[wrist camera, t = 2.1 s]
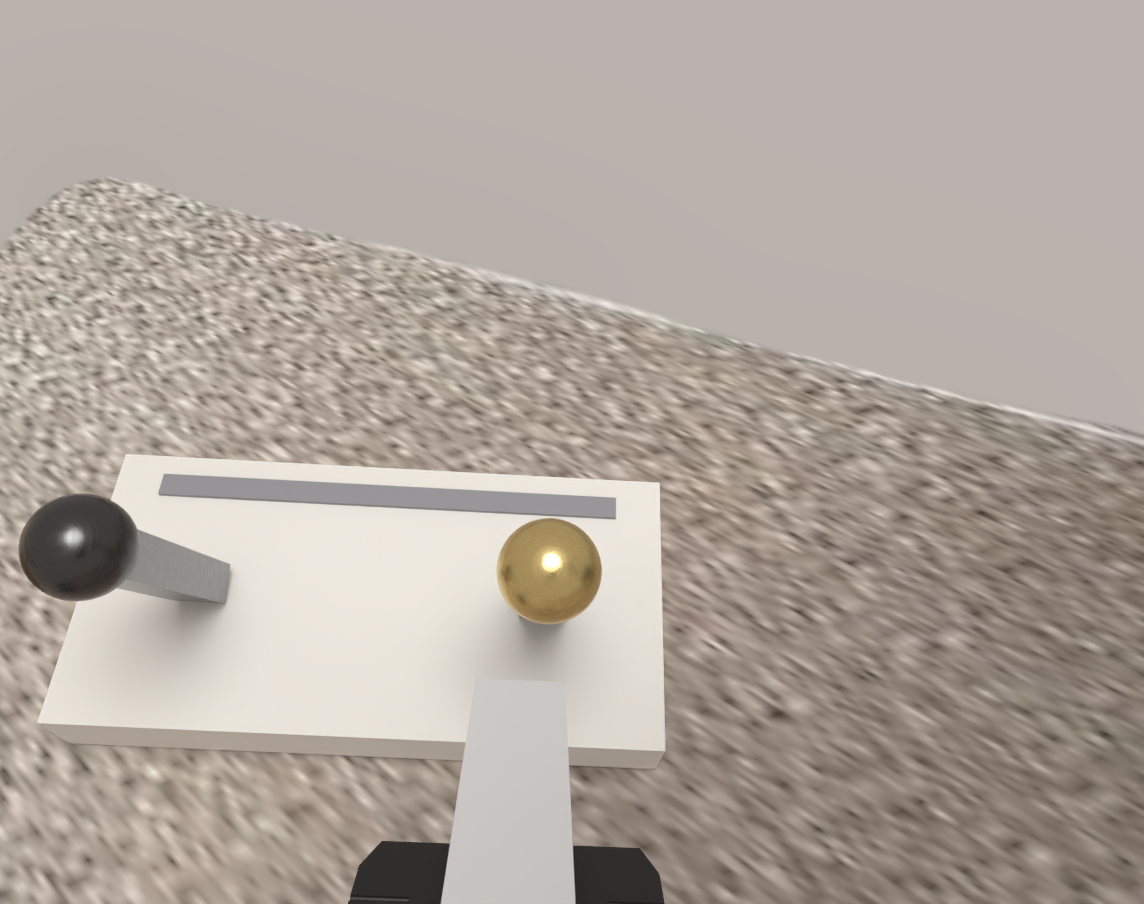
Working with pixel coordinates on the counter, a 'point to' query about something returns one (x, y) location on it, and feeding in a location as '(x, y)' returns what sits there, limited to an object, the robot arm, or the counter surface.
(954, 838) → the counter surface
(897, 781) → the counter surface
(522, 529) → the brass lever
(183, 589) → the black lever
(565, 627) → the control panel
